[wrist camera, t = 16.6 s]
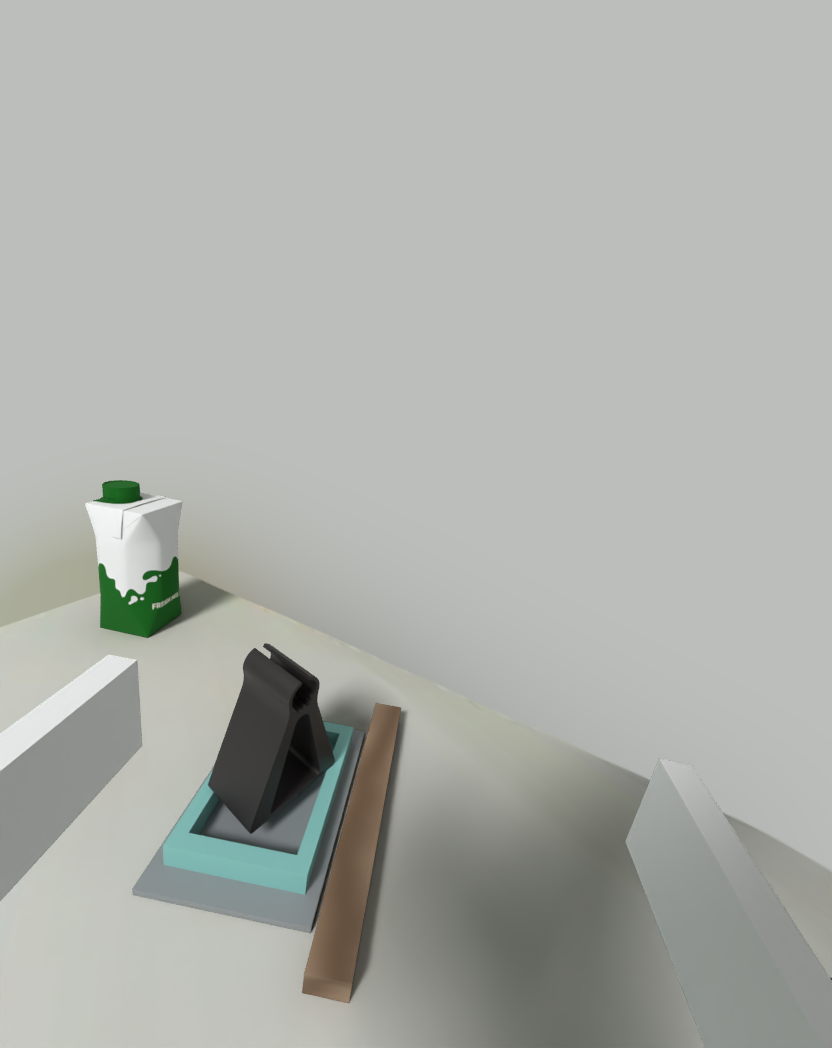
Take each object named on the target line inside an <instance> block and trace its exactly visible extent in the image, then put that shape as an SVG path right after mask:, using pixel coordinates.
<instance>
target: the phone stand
mask: <svg viewBox="0 0 832 1048" xmlns="http://www.w3.org/2000/svg"><path fill="white" fill-rule="evenodd" d="M263 647H264V648H266V649H267V650H268V651H270V652H271V658H270V659H269V658H268V657H266V656H265V655H264V654H262V653H261V652H260V651H258V650H257V649H256V648H254V649H253V650H252V651H251V652H250V653H249V654H248V656H247V657H246V659H245V661H244V664H243V672H244V681H243V686H242V689H241V692H240V695H239V697H238V700H237V703H236V706H235V709H234V711H233V714H232V717H231V720H230V723H229V726H228V728H227V731H226V734H225V737H224V740H223V743H222V745H221V748H220V751H219V754H218V757H217V760H216V762H215V765H214V768H213V771H212V774H211V777H210V779H209V782H208V786H209V787H210V789H211V790H212V791H213V792H214V793H215V794H216V795H217V797H218V798H219V799H220V800H221V801H222V802H223V803H224V805H225V806H226V807H227V808H228V809H229V810H230V811H231V813H232V814H233V815H234V816H235V817H236V818H237V819H238V821H239V822H240V823H241V824H242V825H243V826H244V827H245V829H246V830H247V831H248V832H249V833H250V834H252V833H253V832H255V831H256V830H257V829H258V828H259V827H261V826H262V825H263V824H264V823H265V822H266V821H268V820H269V819H270V818H271V817H272V816H274V815H275V814H276V813H277V812H278V811H279V810H281V809H282V808H283V807H284V806H285V805H287V804H288V803H289V802H290V801H291V800H293V799H294V798H295V796H296V795H297V794H300V793H301V792H302V791H303V790H304V789H306V788H307V787H308V786H309V785H310V784H311V783H313V782H314V781H315V780H316V779H317V778H319V777H320V776H321V775H322V774H323V773H324V772H326V771H327V770H328V769H329V768H330V767H332V766H333V764H334V763H335V758H334V755H333V752H332V749H331V746H330V742H329V739H328V736H327V733H326V730H325V726H324V723H323V720H322V717H321V714H320V710H319V707H318V703H317V695H318V690H319V680H318V678H316V677H315V676H314V675H312V674H311V673H309V672H308V671H306V670H305V669H304V668H302V667H301V666H299V665H298V664H297V663H295V662H294V661H292V660H291V659H290V658H288V657H287V656H285V655H284V654H283V653H281V652H280V651H278V650H277V649H276V648H274V647H273V646H271V645H270V644H264V646H263Z"/></svg>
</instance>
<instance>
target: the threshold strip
mask: <svg viewBox="0 0 832 1048" xmlns="http://www.w3.org/2000/svg"><path fill="white" fill-rule="evenodd" d="M400 711H401V708H400V707H395V706H389V705H384V704H379V703H376V704H375V708H374V711H373V715H372V719H371V723H370V727H369V730H368V734H367V738H366V742H365V746H364V749H363V753H362V757H361V761H360V764H359V768H358V772H357V776H356V780H355V783H354V787H353V791H352V795H351V798H350V802H349V806H348V810H347V814H346V817H345V821H344V825H343V829H342V833H341V836H340V840H339V844H338V848H337V851H336V855H335V859H334V863H333V867H332V870H331V874H330V878H329V882H328V885H327V889H326V893H325V897H324V901H323V904H322V908H321V912H320V916H319V920H318V923H317V927H316V931H315V935H314V938H313V942H312V946H311V950H310V954H309V957H308V961H307V965H306V969H305V972H304V981H303V990H302V993H305V994H310V995H314V996H319V997H323V998H328V999H332V1000H337V1001H341V1002H346V1003H349V999H350V994H351V988H352V983H353V977H354V971H355V966H356V960H357V954H358V949H359V943H360V937H361V932H362V926H363V920H364V915H365V909H366V903H367V898H368V892H369V887H370V881H371V875H372V870H373V864H374V858H375V853H376V847H377V841H378V836H379V830H380V824H381V819H382V813H383V807H384V802H385V796H386V791H387V785H388V779H389V774H390V768H391V762H392V757H393V751H394V745H395V740H396V734H397V728H398V723H399V717H400Z"/></svg>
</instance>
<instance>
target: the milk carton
mask: <svg viewBox="0 0 832 1048" xmlns="http://www.w3.org/2000/svg"><path fill="white" fill-rule="evenodd" d="M102 488H103V497H102V498H100V499H98V500H94V501H93V502H88V503H86V504H85V505H86V508H87V511H88V514H89V517H90V520H91V523H92V526H93V529H94V532H95V536H96V545H97V557H98V568H99V580H100V593H101V615H100V627H101V628H105V629H110V630H114V631H119V632H124V633H128V634H133V635H137V636H142V637H147V638H148V637H149V636H151V635H152V634H154V633H155V632H156V631H158V630H159V629H161V628H162V627H163V626H165V625H166V624H168V623H169V622H170V621H172V620H173V619H175V618H176V617H177V616H179V615H180V614H181V613H182V612H181V604H180V594H179V574H178V526H179V519H180V514H181V507H182V501H178V500H173V499H168V498H166V497H163V496H155V495H150V494H144V493H140V487H139V483H136V482H133V481H122V480H119V481H108V482H104V483H103V484H102Z"/></svg>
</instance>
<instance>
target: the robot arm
mask: <svg viewBox="0 0 832 1048" xmlns="http://www.w3.org/2000/svg"><path fill="white" fill-rule="evenodd" d="M141 746H142V732H141V715H140V698H139V681H138V663H137V660H135V659H129V658H124V657H119V656H114V655H107V656H106V657H105V658H103V659H102V660H100V661H99V662H98V663H96V664H95V665H94V666H92V667H91V668H89V669H88V670H87V671H85V672H84V673H83V674H81V675H80V676H79V677H77V678H76V679H74V680H73V681H72V682H70V683H69V684H68V685H66V686H65V687H63V688H62V689H61V690H59V691H58V692H57V693H55V694H54V695H52V696H51V697H50V698H48V699H47V700H46V701H44V702H43V703H41V704H40V705H39V706H37V707H36V708H35V709H33V710H32V711H30V712H29V713H28V714H26V715H25V716H24V717H22V718H21V719H19V720H18V721H17V722H15V723H14V724H13V725H11V726H10V727H8V728H7V729H6V730H4V731H3V732H2V733H0V901H1V900H2V899H3V898H4V897H5V896H6V895H7V893H8V892H9V891H10V890H11V889H12V888H13V887H14V886H15V885H16V884H17V883H18V881H19V880H20V879H21V878H22V877H23V876H24V875H25V874H26V873H27V872H28V870H29V869H30V868H31V867H32V866H33V865H34V864H35V863H36V862H37V861H38V859H39V858H40V857H41V856H42V855H43V854H44V853H45V852H46V851H47V850H48V848H49V847H50V846H51V845H52V844H53V843H54V842H55V841H56V840H57V839H58V838H59V836H60V835H61V834H62V833H63V832H64V831H65V830H66V829H67V828H68V827H69V825H70V824H71V823H72V822H73V821H74V820H75V819H76V818H77V817H78V816H79V814H80V813H81V812H82V811H83V810H84V809H85V808H86V807H87V806H88V805H89V804H90V802H91V801H92V800H93V799H94V798H95V797H96V796H97V795H98V794H99V793H100V791H101V790H102V789H103V788H104V787H105V786H106V785H107V784H108V783H109V782H110V780H111V779H112V778H113V777H114V776H115V775H116V774H117V773H118V772H119V771H120V769H121V768H122V767H123V766H124V765H125V764H126V763H127V762H128V761H129V760H130V759H131V757H132V756H133V755H134V754H135V753H136V752H137V751H138V750H139V749H140V748H141ZM625 842H626V844H627V847H628V850H629V852H630V855H631V857H632V860H633V862H634V865H635V868H636V870H637V873H638V875H639V878H640V880H641V883H642V886H643V888H644V891H645V893H646V896H647V899H648V901H649V904H650V906H651V909H652V911H653V914H654V917H655V919H656V922H657V924H658V927H659V930H660V932H661V935H662V937H663V940H664V942H665V945H666V948H667V950H668V953H669V955H670V958H671V961H672V963H673V966H674V968H675V971H676V973H677V976H678V979H679V981H680V984H681V986H682V989H683V992H684V994H685V997H686V999H687V1002H688V1004H689V1007H690V1010H691V1012H692V1015H693V1017H694V1020H695V1023H696V1025H697V1028H698V1030H699V1033H700V1035H701V1038H702V1041H703V1043H704V1046H705V1048H832V978H830V977H829V975H828V974H827V972H826V971H825V969H824V968H823V966H822V965H821V963H820V962H819V960H818V958H817V957H816V955H815V954H814V952H813V951H812V949H811V948H810V946H809V945H808V943H807V942H806V940H805V938H804V937H803V935H802V934H801V932H800V931H799V929H798V928H797V926H796V925H795V923H794V922H793V920H792V919H791V917H790V915H789V914H788V912H787V911H786V909H785V908H784V906H783V905H782V903H781V902H780V900H779V899H778V897H777V895H776V894H775V892H774V891H773V889H772V888H771V886H770V885H769V883H768V882H767V880H766V879H765V877H764V876H763V874H762V872H761V871H760V869H759V868H758V866H757V865H756V863H755V862H754V860H753V859H752V857H751V856H750V854H749V852H748V851H747V849H746V848H745V846H744V845H743V843H742V842H741V840H740V839H739V837H738V836H737V834H736V833H735V831H734V829H733V828H732V826H731V825H730V823H729V822H728V820H727V819H726V817H725V816H724V814H723V813H722V811H721V810H720V808H719V806H718V805H717V803H716V802H715V800H714V799H713V797H712V796H711V794H710V793H709V791H708V790H707V788H706V786H705V785H704V783H703V782H702V780H701V779H700V778H699V776H698V774H697V773H696V771H695V770H694V768H693V767H692V765H690V764H685V763H680V762H674V761H669V760H664V759H659V760H658V762H657V765H656V767H655V770H654V772H653V775H652V777H651V780H650V782H649V785H648V787H647V790H646V792H645V794H644V797H643V799H642V802H641V804H640V807H639V809H638V812H637V814H636V817H635V819H634V822H633V824H632V827H631V829H630V831H629V834H628V836H627V839H626V841H625Z"/></svg>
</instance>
